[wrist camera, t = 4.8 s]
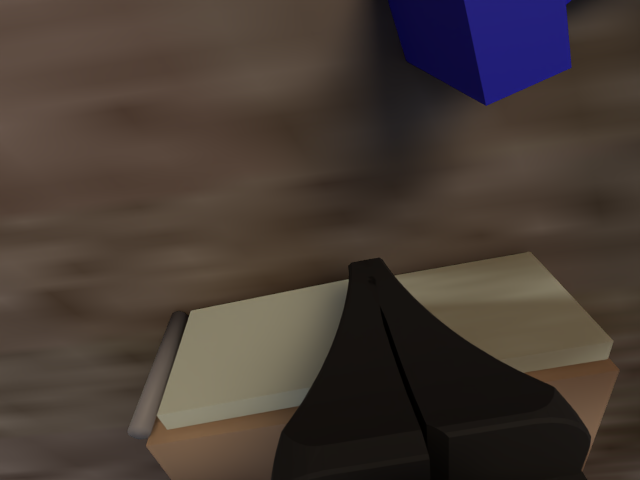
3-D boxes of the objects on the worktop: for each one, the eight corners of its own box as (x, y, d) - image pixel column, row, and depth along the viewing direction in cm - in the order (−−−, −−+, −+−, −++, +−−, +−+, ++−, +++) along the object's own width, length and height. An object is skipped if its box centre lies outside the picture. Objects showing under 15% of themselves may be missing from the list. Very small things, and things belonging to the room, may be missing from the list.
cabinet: (510, 396, 21) (569, 506, 17) (242, 439, 22) (229, 556, 17) (531, 246, 16) (627, 348, 11) (176, 308, 17) (132, 428, 12)
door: (371, 286, 16) (400, 393, 12) (175, 325, 17) (134, 441, 12) (368, 271, 16) (397, 376, 12) (168, 312, 16) (122, 427, 12)
